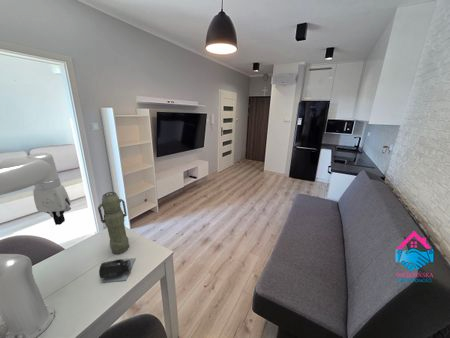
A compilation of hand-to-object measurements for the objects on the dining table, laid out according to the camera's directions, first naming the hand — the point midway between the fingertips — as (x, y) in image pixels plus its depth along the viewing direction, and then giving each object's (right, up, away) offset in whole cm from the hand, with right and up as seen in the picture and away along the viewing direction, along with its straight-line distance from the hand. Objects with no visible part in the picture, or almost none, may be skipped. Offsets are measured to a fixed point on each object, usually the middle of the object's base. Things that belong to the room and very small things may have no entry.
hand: (60, 222), depth 78 cm
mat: (+19, -27, +12) cm, 35 cm away
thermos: (+12, -23, +25) cm, 36 cm away
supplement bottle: (+13, -25, +7) cm, 29 cm away
